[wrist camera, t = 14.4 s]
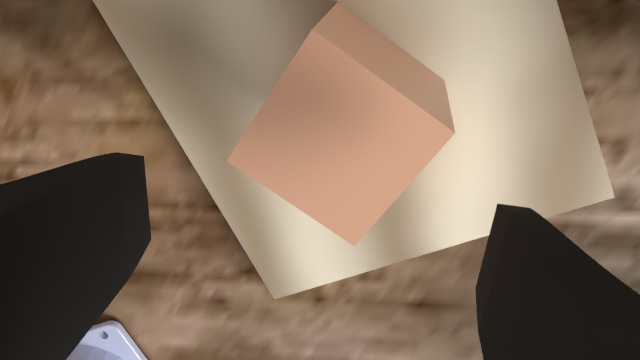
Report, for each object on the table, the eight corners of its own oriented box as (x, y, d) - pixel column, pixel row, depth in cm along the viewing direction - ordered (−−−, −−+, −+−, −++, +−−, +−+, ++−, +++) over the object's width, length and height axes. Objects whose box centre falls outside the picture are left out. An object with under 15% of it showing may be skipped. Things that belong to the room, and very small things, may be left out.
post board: (280, 282, 24) (256, 348, 20) (106, -9, 19) (34, 7, 16) (603, 182, 20) (648, 243, 16) (480, -230, 15) (502, -281, 11)
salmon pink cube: (444, 80, 18) (455, 133, 13) (367, 173, 20) (354, 246, 15) (338, 1, 17) (312, 29, 13) (269, 105, 19) (226, 160, 15)
